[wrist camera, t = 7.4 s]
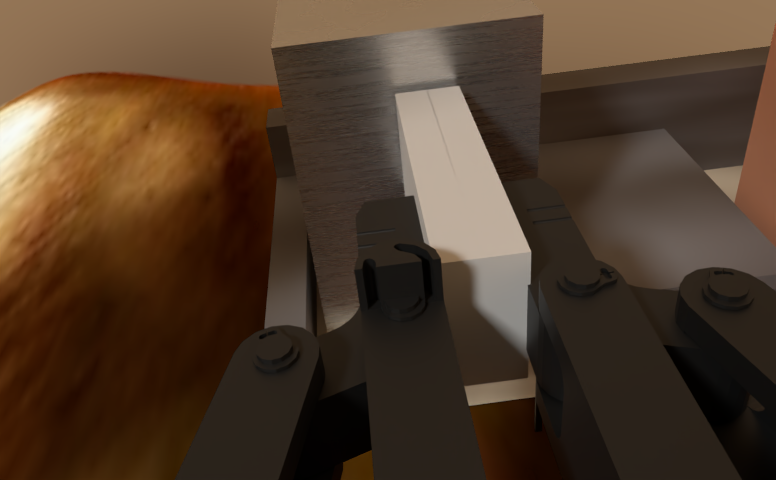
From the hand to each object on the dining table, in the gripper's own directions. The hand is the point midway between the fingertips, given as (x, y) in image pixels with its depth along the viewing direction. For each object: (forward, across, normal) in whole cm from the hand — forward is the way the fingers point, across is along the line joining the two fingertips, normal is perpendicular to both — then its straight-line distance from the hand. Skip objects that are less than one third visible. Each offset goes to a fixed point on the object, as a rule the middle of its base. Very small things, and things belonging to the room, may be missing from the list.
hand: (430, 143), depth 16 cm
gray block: (+4, 0, -6) cm, 7 cm away
